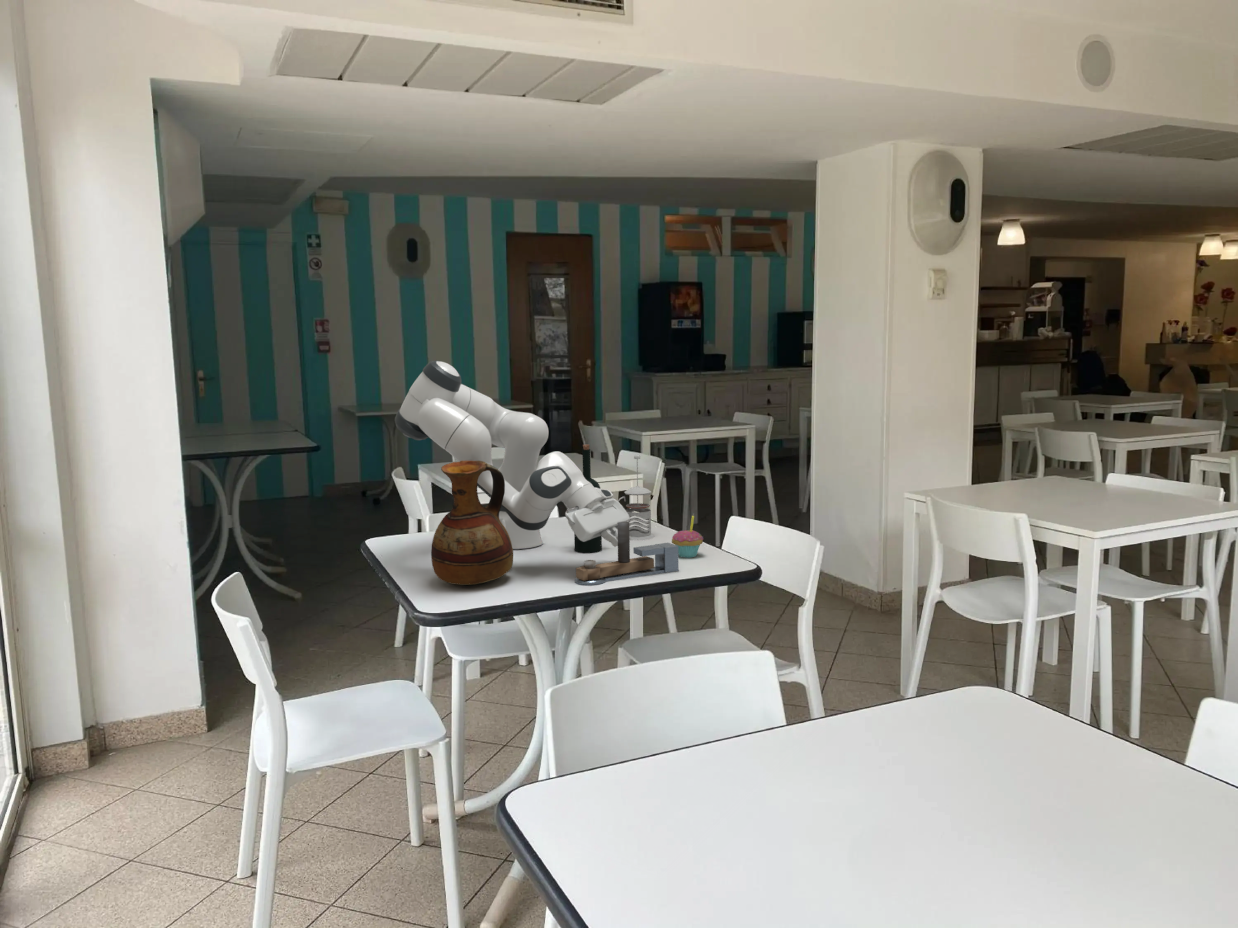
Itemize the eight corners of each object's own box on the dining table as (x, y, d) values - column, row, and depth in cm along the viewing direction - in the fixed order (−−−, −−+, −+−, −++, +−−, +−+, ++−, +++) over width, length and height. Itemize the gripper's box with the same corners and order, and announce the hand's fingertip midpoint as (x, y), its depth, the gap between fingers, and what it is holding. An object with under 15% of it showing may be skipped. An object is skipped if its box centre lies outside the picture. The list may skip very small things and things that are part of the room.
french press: (654, 540, 276) (653, 456, 273) (615, 540, 276) (614, 457, 273) (654, 533, 286) (653, 452, 282) (616, 533, 286) (615, 453, 283)
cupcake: (708, 554, 257) (708, 511, 255) (694, 560, 249) (694, 516, 248) (680, 551, 261) (680, 509, 259) (666, 557, 254) (665, 514, 252)
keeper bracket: (583, 586, 224) (582, 560, 223) (569, 580, 231) (569, 554, 230) (681, 571, 237) (681, 546, 236) (665, 565, 244) (665, 541, 243)
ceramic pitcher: (415, 576, 231) (415, 458, 225) (481, 561, 245) (483, 450, 239) (461, 597, 218) (462, 472, 212) (528, 580, 232) (531, 462, 226)
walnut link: (585, 581, 225) (583, 530, 224) (574, 577, 230) (573, 527, 228) (655, 568, 237) (655, 520, 235) (644, 564, 241) (643, 517, 239)
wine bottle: (612, 551, 261) (610, 445, 257) (576, 553, 259) (574, 447, 256) (607, 545, 269) (605, 442, 265) (572, 547, 267) (570, 444, 263)
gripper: (569, 502, 229) (603, 545, 225) (613, 489, 246) (646, 528, 243) (555, 519, 232) (588, 561, 229) (600, 504, 249) (632, 543, 246)
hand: (618, 544), depth 236 cm, fingers closed
